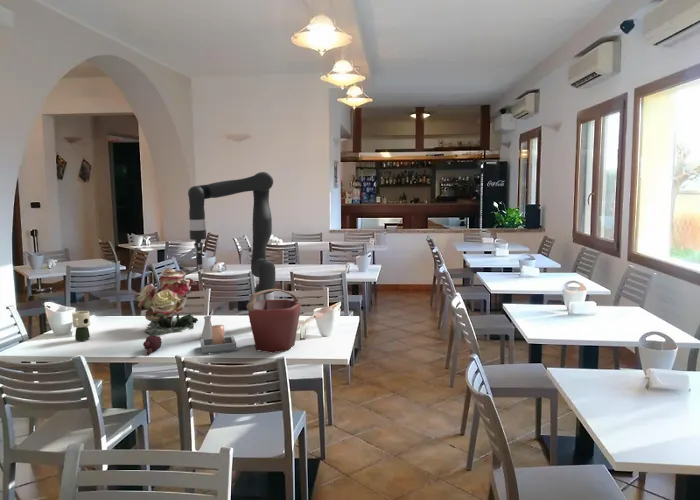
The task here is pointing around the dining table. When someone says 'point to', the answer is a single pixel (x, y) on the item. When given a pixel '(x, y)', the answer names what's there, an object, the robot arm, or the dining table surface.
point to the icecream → (152, 343)
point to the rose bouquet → (167, 303)
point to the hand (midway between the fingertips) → (199, 263)
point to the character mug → (81, 325)
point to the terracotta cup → (218, 334)
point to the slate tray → (218, 345)
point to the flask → (207, 328)
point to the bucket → (273, 322)
